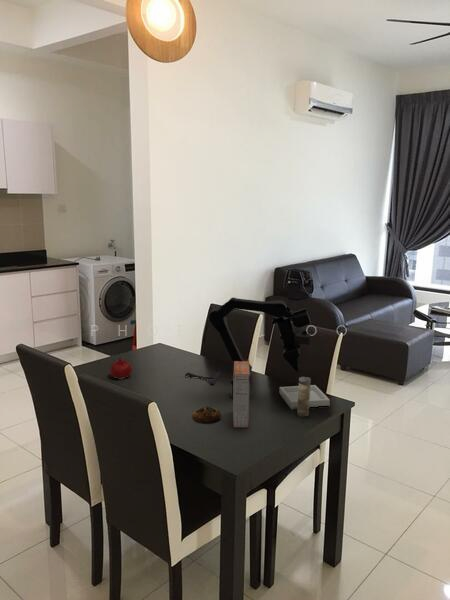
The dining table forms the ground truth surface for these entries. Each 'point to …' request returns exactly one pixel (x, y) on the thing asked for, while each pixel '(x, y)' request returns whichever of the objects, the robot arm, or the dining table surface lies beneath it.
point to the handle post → (303, 396)
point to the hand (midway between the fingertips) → (297, 367)
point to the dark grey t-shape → (206, 377)
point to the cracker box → (241, 394)
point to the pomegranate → (120, 369)
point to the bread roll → (207, 415)
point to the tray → (315, 396)
